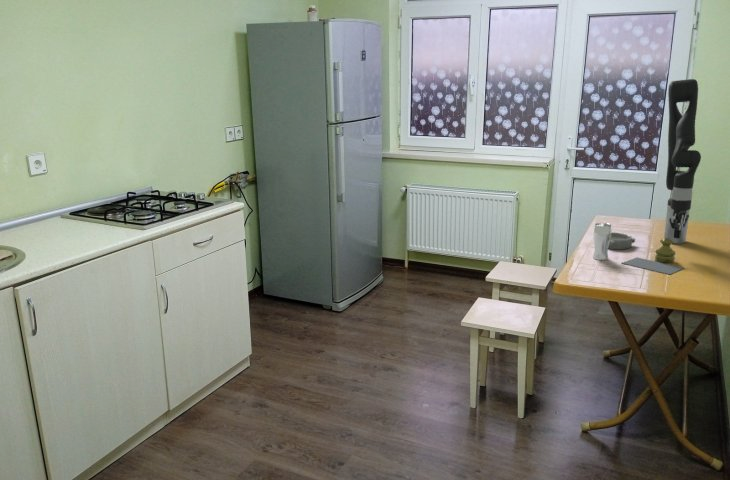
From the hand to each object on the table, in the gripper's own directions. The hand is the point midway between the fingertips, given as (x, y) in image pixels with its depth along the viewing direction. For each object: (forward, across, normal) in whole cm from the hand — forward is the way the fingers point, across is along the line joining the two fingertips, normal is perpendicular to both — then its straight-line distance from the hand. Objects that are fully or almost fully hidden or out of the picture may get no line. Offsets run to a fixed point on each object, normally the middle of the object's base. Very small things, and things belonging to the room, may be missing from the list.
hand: (676, 237), depth 250 cm
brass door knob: (+9, +9, 0) cm, 12 cm away
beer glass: (+9, +24, -20) cm, 33 cm away
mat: (+9, +19, 0) cm, 21 cm away
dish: (+9, +1, -26) cm, 28 cm away
